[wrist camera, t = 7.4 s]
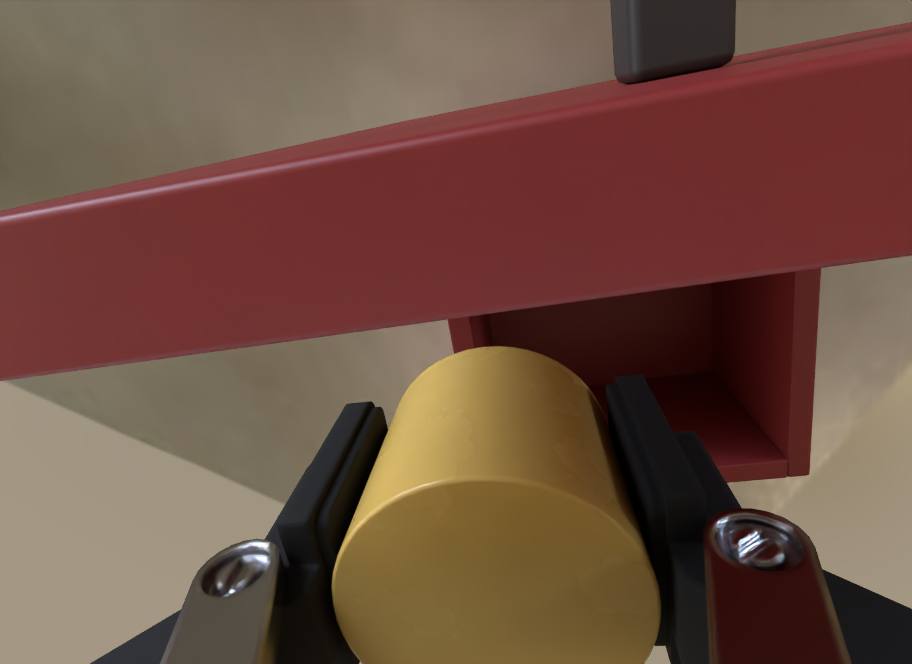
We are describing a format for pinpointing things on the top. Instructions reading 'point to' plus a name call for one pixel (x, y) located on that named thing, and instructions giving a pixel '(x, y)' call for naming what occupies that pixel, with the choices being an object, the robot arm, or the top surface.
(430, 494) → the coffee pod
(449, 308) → the lid
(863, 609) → the robot arm
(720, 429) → the red bin
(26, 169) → the top surface
